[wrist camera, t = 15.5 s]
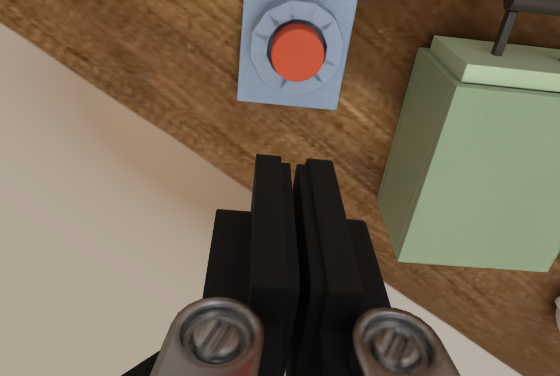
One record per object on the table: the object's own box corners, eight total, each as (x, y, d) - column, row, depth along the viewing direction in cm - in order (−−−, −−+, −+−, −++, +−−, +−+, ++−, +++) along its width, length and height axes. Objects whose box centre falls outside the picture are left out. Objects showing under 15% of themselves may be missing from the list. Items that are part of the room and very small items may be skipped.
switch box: (246, -42, 32) (244, -35, 29) (359, -28, 33) (368, -20, 30) (237, 93, 37) (235, 111, 34) (334, 103, 38) (339, 121, 35)
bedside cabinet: (418, 46, 36) (456, 86, 28) (570, 63, 37) (644, 106, 29) (375, 200, 43) (397, 262, 36) (502, 210, 44) (547, 272, 37)
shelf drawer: (452, -28, 32) (492, -10, 26) (604, -9, 33) (675, 12, 27) (389, 185, 41) (409, 232, 36) (509, 195, 42) (547, 243, 37)
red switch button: (273, 19, 31) (274, 26, 30) (325, 25, 32) (328, 32, 30) (268, 70, 33) (268, 79, 32) (317, 76, 33) (319, 84, 32)
